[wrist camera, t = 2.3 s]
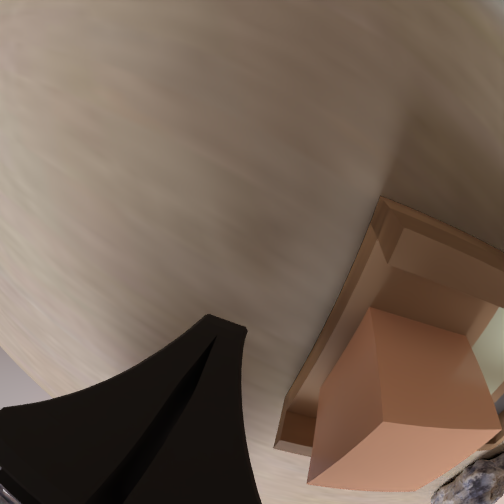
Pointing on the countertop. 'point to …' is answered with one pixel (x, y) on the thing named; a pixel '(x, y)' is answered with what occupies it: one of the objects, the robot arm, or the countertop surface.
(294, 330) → the countertop surface
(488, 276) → the channel
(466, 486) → the mineral specimen
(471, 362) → the block
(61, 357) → the countertop surface
